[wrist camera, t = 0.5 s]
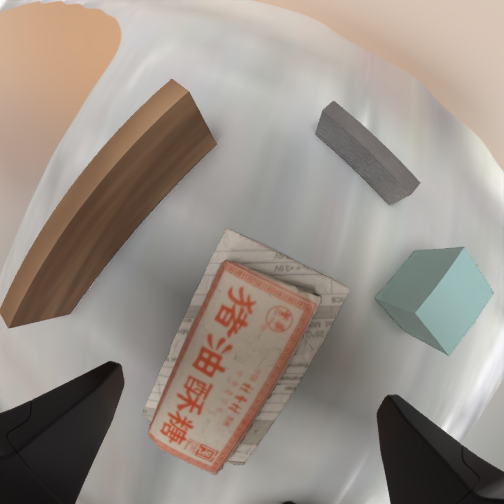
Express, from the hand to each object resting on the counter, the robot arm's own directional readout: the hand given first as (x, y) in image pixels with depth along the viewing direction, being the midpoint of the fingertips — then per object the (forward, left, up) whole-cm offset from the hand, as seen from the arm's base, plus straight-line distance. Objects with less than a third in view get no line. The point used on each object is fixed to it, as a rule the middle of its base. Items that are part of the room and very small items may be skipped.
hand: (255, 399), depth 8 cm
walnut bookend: (+15, +3, -13) cm, 20 cm away
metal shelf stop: (+3, -13, -13) cm, 19 cm away
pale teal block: (-7, -9, -13) cm, 17 cm away
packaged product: (-1, +4, -13) cm, 14 cm away
